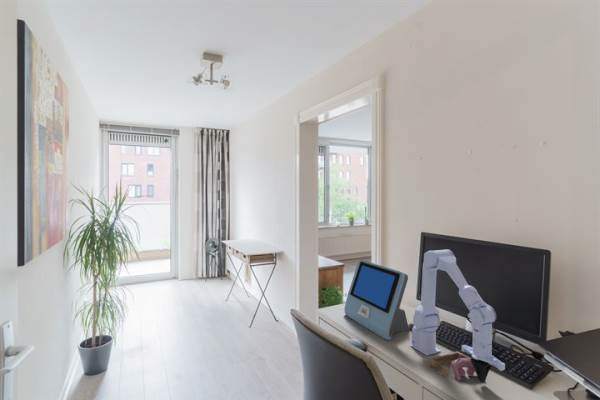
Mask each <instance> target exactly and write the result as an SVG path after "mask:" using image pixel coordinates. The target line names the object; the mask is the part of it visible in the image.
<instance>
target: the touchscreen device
mask: <svg viewBox="0 0 600 400" xmlns="http://www.w3.org/2000/svg"><path fill="white" fill-rule="evenodd" d="M351 280H352V281H351V283H350V286H349V289H348V292H347V296H346V300H345V304H344V309H343V310H344V314H345V316H347V317H349V318H350V319H352V320H353V321H355V322H357V324H359V325H361V326H363V327H365V328H366V329H368V330H369V331H371V332H372V333H374V334H376V335H378V336H380V337H381V338H382V339H385V340H386V341H389V342H391V340H392V336H393V333H398V332H399V333H400V332H405V331H409V330H410V328H409V323H408V319H407V315H406V312H405V309H402V308H400V307H401V305H402V300H403V297H404V293H405V290H406V288H407V285H408V284H407V283H408V280H409V276H408V274H406V273H404V272H402V271H399V270H397V269H393V268H391V267H386V266H383V265H381V264H380V265H379V264H376V263H374V262H370V261H367V260H364V259H360V260H358V262H357V265H356V267H355V271H354V274H353V277H352V279H351Z"/></svg>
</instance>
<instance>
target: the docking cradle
mask: <svg viewBox="0 0 600 400" xmlns="http://www.w3.org/2000/svg"><path fill="white" fill-rule="evenodd" d="M459 358H468V359H472V358H471V357H470V356H467V355H465V354H464V353H461V352H459V351H454V352H451V353H447V354H443V355H440V356H437V357H433V358H430V359H429V360H430V361H429V363H430V365H429V366H430V369H432V370H434V371H435V372H437V373H439V374H440V373H441V374H440V375H442V376H444V377H445V378H447V377H449V368H448V367H447V366H445V365H447V364H451V362H452V361H454V360H456V359H459Z"/></svg>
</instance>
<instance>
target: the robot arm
mask: <svg viewBox="0 0 600 400" xmlns="http://www.w3.org/2000/svg"><path fill="white" fill-rule="evenodd" d="M438 270H439V271H444V272H446V273H447V274H448V275H449V277H450V278H451V280H452V281H453V282H454V283H455V285H456V286H457V288H458V289H459V290H458V295H459V297H460V299H461V300H462V301H463V303H464V305H465V306H466V307H467V309H468V311H469V313H468V318H469V320H470V322H471V326H472V346H469V345H467V344H463V345H461V350H460V351H461V352H463V353H466V354H469V355H470V356H471V357H472V358H471V362H472V364H473V366H474V368H475V371H476V372H475V371H474V372H475V374H476V379H477V381H478V382H480V383H484V382H486V381H487V377H488V374H489V373H490V370H491V369H492V367H495V368H497V370H498V371H501V372H502V371H505V370H506V364H505V363H504V362H502V361H501V360H499V359H498V358H497V357H495V356H494V355H492V354H493V353H492V352H493V351H492V349H493V344H492V343H493V323H494V322H495V321H496V320H497V313H496V311H495V309H494V308H493V307H492V306H491V305H489V304H487V302H485V301H484V300H483V298H482V297H481V296H480V294H479V293H478V290H477V289H476V288H475V287H474V286H472V285H469V284H468V282H467V280H466V278H465V277H464V274H463V273H462V271H461V269H460V268H459V266H458V264H457V258H456V256H455V254H454V253H453V251H452V250H450V249H448V248H447V249H446V248H445V249H440V250H439V249H436V250H428V251H426V252H425V253H423V263H422V274H421V275H422V276H421V280H422V281H421V298H420V305H419V306H417V308H416V309H414V315H413V320H412V323H413V326H412V328H411V344H409V345H410V347H412V348H413V349H415V350H417V351H419V352H420V353H422V354H424V355H425V356H429V355H433V354H436V353H440V352H441V349H440V348H438V347H437V330H438V327H439V326H440V324H441V317H440V311H439V310H438V308H436V295H437V294H436V289H437V275H438V274H437V273H438V272H437V271H438Z"/></svg>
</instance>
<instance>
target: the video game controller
mask: <svg viewBox="0 0 600 400" xmlns="http://www.w3.org/2000/svg"><path fill="white" fill-rule="evenodd" d="M471 359H472V358H471ZM471 359H468V358H459V359H456V360H454V361H452V362H450V365H451V366H450V367H451V368H452V371H453V374H454V377H455V378H456V380H458V381H461V380H462V377H465V376H466V374H467V376H469V375H470V377H472V376H474V374H475V373H476V371H475V368H474V366H473V364H472V362H471ZM464 368H466V370H465V369H464Z"/></svg>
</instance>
